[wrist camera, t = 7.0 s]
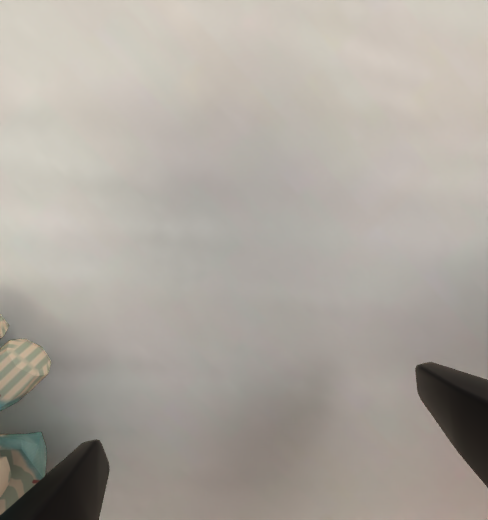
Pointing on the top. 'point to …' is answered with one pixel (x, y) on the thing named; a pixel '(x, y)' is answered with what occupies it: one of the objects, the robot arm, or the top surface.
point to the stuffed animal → (6, 394)
